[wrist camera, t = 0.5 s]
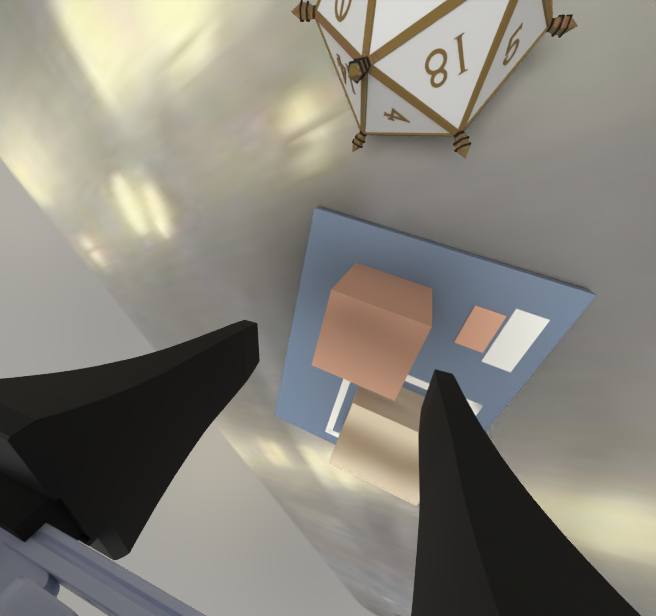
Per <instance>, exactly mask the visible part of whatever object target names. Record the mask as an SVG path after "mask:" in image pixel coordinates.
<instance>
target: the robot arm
mask: <svg viewBox="0 0 656 616" xmlns="http://www.w3.org/2000/svg"><path fill="white" fill-rule="evenodd" d="M258 363H259V344H258V327H257V323H255V322H251V321H247V320H243V321H239V322H237V323H234V324H231V325H228V326H226V327H223V328H221V329H218V330H216V331H213V332H210V333H208V334H205V335H203V336H200V337H198V338H195V339H192V340H189V341H186V342H184V343H181V344H178V345H175V346H172V347H169V348H166V349H163V350H160V351H157V352H153V353H150V354H146V355H143V356H139V357H135V358H132V359H127V360H123V361H118V362H114V363H109V364H104V365H100V366H94V367H89V368H83V369H77V370H71V371H64V372H58V373H50V374H42V375H33V376H24V377H15V378H4V379H0V616H78V615H77V614H76V613H75V612H74V611H73V610H72V609H70V608H69V607H68V606H66V605H65V604H64V603H62V602H61V601H59V600H58V599H57V595H58V592H59V588H60V585H59V584H61V585H62V586H64V587H65V588H67V589H68V590H70V591H71V592H73V593H74V594H76V595H77V596H79V597H81V598H82V599H84V600H85V601H87V602H88V603H90V604H91V605H93V606H95V607H96V608H98V609H99V610H101V611H102V612H104V613H105V614H107V615H108V616H206V615H204V614H202V613H201V612H199V611H197V610H195V609H194V608H192V607H190V606H188V605H187V604H185V603H183V602H182V601H180V600H178V599H176V598H175V597H173V596H171V595H169V594H168V593H166V592H165V591H163V590H161V589H159V588H158V587H156V586H154V585H152V584H151V583H149V582H147V581H145V580H144V579H142V578H140V577H139V576H137V575H135V574H134V573H132V572H130V571H128V570H127V569H125V568H123V567H122V566H120V565H118V564H116V563H115V562H113V561H111V560H110V559H108V558H106V557H104V556H103V555H101V554H99V553H98V552H96V551H94V550H92V549H91V548H89V547H87V546H86V545H88V546H91V547H92V548H94V549H95V550H97V551H99V552H101V553H103V554H104V555H106V556H107V557H109V558H111V559H113V560H118V559H120V558H122V557H124V556H126V555H127V554H129V553H130V551H131V549H132V548H133V546H134V544H135V542H136V540H137V539H138V537H139V535H140V533H141V531H142V530H143V528H144V526H145V525H146V523H147V521H148V519H149V518H150V516H151V514H152V512H153V511H154V508H155V507H156V505H157V504H158V502H159V500H160V499H161V497H162V496H163V494H164V492H165V491H166V489H167V487H168V486H169V484H170V483H171V481H172V479H173V478H174V476H175V475H176V473H177V472H178V470H179V469H180V467H181V466H182V464H183V462H184V461H185V459H186V458H187V456H188V455H189V453H190V452H191V451H192V449H193V448H194V446H195V445H196V443H197V442H198V441H199V439H200V438H201V436H202V435H203V433H204V432H205V431H206V429H207V428H208V427H209V426H210V424H211V423H212V422H213V421H214V419H215V418H216V417H217V416H218V415H219V414H220V412H221V411H222V410H223V409H224V408H225V406H226V405H227V404H228V403H229V402H230V401H231V399H232V398H233V397H234V396H235V395H236V394H237V392H238V391H239V390H240V389H241V388H242V386H243V385H244V384H245V383H246V381H247V380H248V379H249V377H250V376H251V374H252V373H253V371H254V369H255V368H256V366H257V364H258ZM418 447H419V495H420V507H419V528H418V542H417V556H416V568H415V580H414V592H413V603H412V614H411V616H641V615H640V614H639V613H638V612H637V611H636V610H635V609H634V608H633V607H632V606H631V605H630V604H629V603H628V602H627V601H626V600H625V599H624V598H623V597H622V596H621V595H620V594H619V593H618V592H617V591H616V590H615V589H614V588H613V587H612V586H611V585H610V584H609V583H608V582H607V581H606V580H605V579H604V577H603V576H602V575H601V574H600V573H599V572H598V571H597V570H596V569H595V568H594V567H593V566H592V565H591V564H590V563H589V562H588V561H587V560H586V558H585V557H584V556H583V555H582V554H581V553H580V552H579V551H578V550H577V549H576V547H575V546H574V545H573V544H572V543H571V542H570V541H569V540H568V539H567V538H566V536H565V535H564V534H563V533H562V532H561V531H560V529H559V528H558V527H557V526H556V525H555V524H554V522H553V521H552V520H551V519H550V518H549V517H548V516H547V514H546V513H545V512H544V511H543V510H542V509H541V507H540V506H539V505H538V504H537V502H536V501H535V500H534V499H533V498H532V496H531V495H530V494H529V493H528V491H527V490H526V489H525V487H524V486H523V485H522V484H521V482H520V481H519V480H518V478H517V477H516V476H515V474H514V473H513V472H512V470H511V469H510V468H509V466H508V465H507V464H506V462H505V461H504V459H503V458H502V456H501V455H500V454H499V452H498V451H497V449H496V448H495V446H494V445H493V443H492V442H491V440H490V438H489V437H488V435H487V434H486V432H485V430H484V429H483V427H482V425H481V424H480V422H479V420H478V419H477V417H476V415H475V414H474V412H473V410H472V408H471V407H470V405H469V403H468V401H467V399H466V398H465V396H464V394H463V392H462V390H461V388H460V386H459V384H458V382H457V380H456V378H455V376H454V375H453V374H452V373H448V372H444V371H440V370H437V369H435V370H434V372H433V375H432V378H431V381H430V384H429V387H428V390H427V393H426V396H425V399H424V401H423V404H422V407H421V413H420V423H419V433H418ZM78 540H79V541H81V542H83V543H84V544H86V545H84V544H82V543H81V542H79V541H78Z"/></svg>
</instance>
